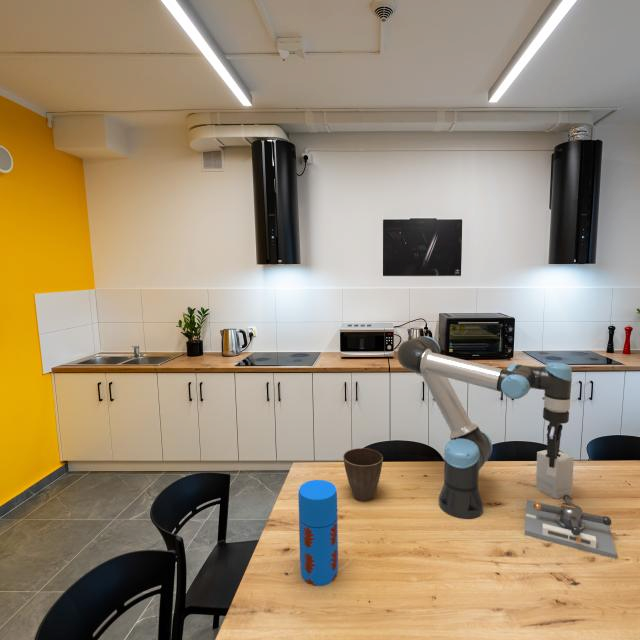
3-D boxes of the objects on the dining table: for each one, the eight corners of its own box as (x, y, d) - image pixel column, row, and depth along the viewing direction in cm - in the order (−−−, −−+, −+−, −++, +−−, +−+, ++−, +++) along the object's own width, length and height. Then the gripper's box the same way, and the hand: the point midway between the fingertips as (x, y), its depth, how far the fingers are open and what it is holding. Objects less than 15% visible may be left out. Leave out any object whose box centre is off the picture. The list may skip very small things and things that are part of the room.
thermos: (325, 592, 106) (323, 504, 103) (292, 576, 111) (290, 493, 109) (344, 566, 115) (343, 485, 112) (313, 553, 120) (312, 476, 118)
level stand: (524, 535, 127) (524, 524, 127) (526, 503, 145) (526, 493, 144) (616, 560, 115) (617, 548, 115) (606, 521, 133) (607, 511, 133)
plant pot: (338, 503, 147) (338, 462, 146) (350, 483, 161) (349, 445, 159) (378, 510, 142) (378, 468, 140) (386, 489, 156) (386, 451, 154)
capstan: (619, 556, 115) (620, 535, 114) (535, 536, 124) (535, 517, 123) (603, 515, 134) (604, 497, 133) (531, 501, 143) (531, 484, 142)
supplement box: (573, 494, 150) (575, 457, 148) (555, 499, 147) (557, 461, 145) (551, 483, 158) (553, 447, 157) (534, 487, 155) (536, 451, 154)
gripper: (547, 401, 141) (543, 464, 144) (539, 411, 131) (535, 478, 134) (572, 406, 136) (567, 471, 139) (565, 416, 126) (560, 486, 129)
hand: (551, 474), depth 136 cm, fingers closed
